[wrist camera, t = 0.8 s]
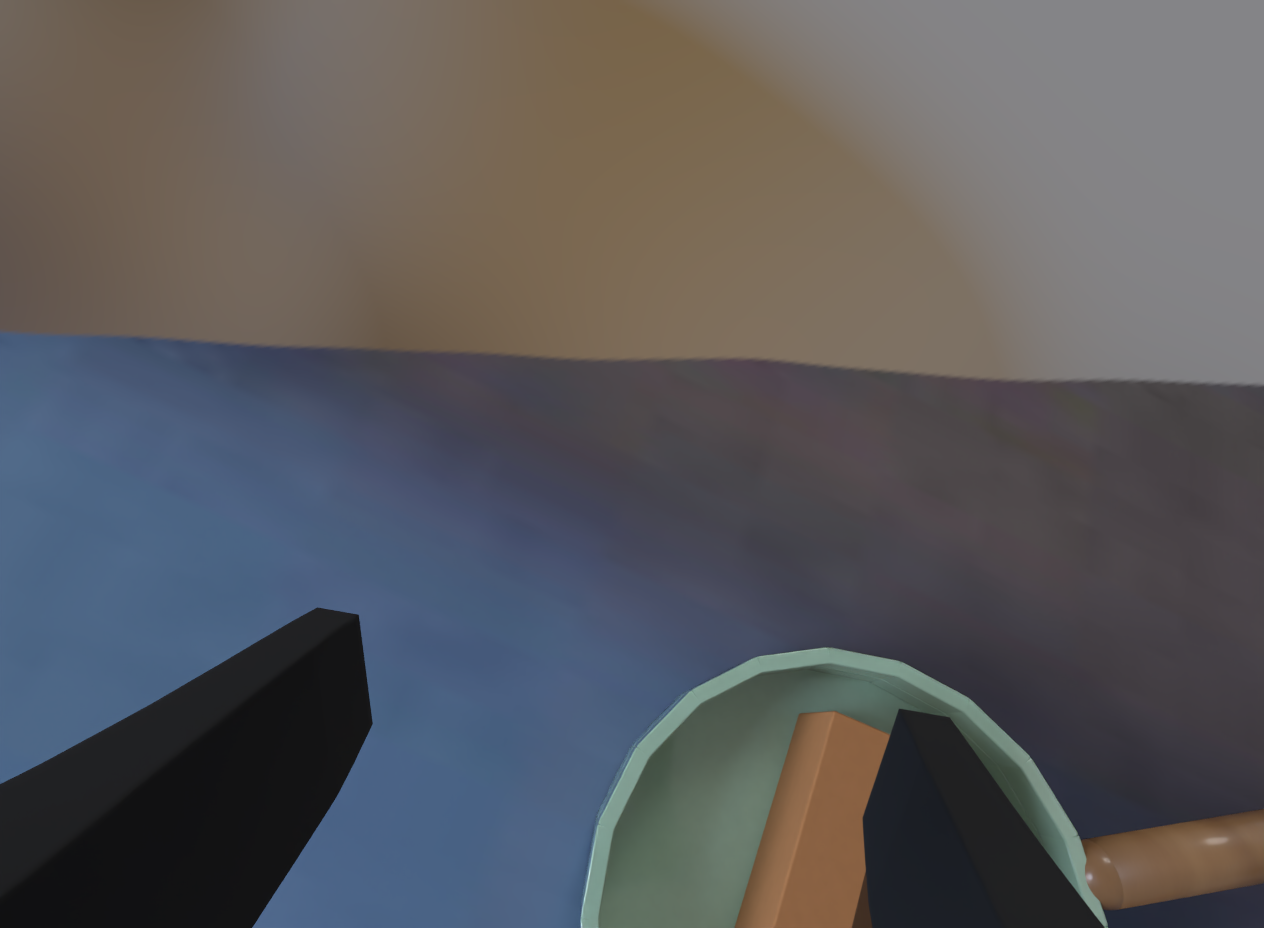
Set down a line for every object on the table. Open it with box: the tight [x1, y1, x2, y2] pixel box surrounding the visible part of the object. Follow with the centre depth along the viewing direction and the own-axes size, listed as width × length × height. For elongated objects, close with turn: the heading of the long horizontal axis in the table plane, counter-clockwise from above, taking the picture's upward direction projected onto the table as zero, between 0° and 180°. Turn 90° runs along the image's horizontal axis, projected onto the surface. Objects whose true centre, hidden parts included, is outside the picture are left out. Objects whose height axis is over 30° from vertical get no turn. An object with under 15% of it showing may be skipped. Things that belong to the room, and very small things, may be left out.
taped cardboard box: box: [735, 711, 890, 928], centre depth 19 cm, size 10×5×4 cm, turn 157°
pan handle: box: [1081, 809, 1264, 910], centre depth 21 cm, size 10×2×2 cm, turn 98°
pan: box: [581, 647, 1108, 928], centre depth 20 cm, size 15×15×3 cm
